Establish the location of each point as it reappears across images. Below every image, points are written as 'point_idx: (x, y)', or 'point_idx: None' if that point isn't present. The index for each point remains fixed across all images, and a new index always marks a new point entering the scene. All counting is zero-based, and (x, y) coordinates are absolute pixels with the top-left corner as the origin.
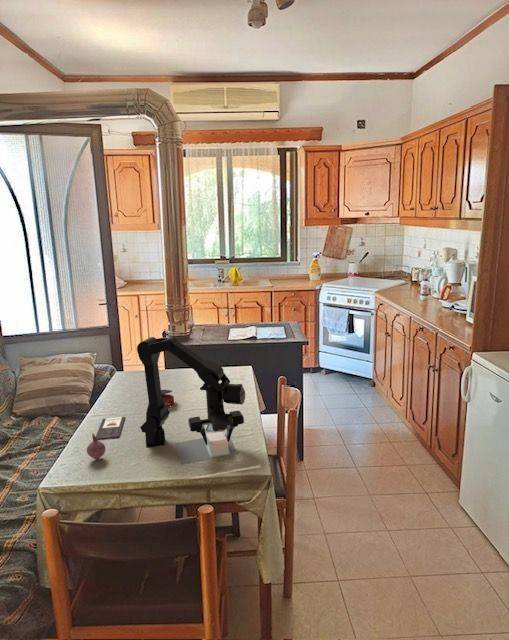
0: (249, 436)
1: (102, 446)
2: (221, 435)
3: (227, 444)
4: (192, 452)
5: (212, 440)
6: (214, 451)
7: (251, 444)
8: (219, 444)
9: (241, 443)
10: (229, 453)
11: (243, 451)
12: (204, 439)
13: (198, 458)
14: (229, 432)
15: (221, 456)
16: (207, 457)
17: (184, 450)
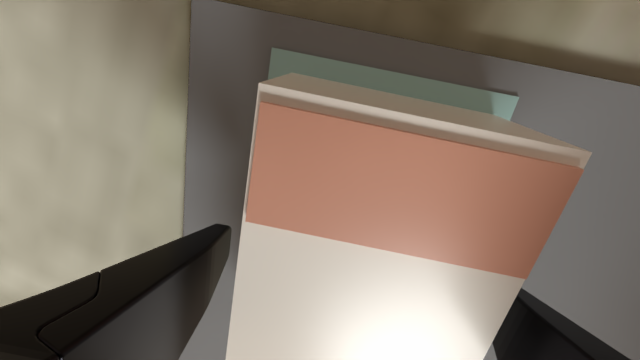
0: (19, 287)
1: None
2: (271, 350)
3: (279, 83)
4: (598, 289)
5: (457, 296)
6: (480, 115)
7: (18, 155)
8: (428, 117)
9: (109, 220)
10: (284, 67)
11: (123, 63)
12: (618, 355)
13: (635, 153)
14: (113, 300)
15: (394, 54)
16: (542, 120)
17: (631, 351)
